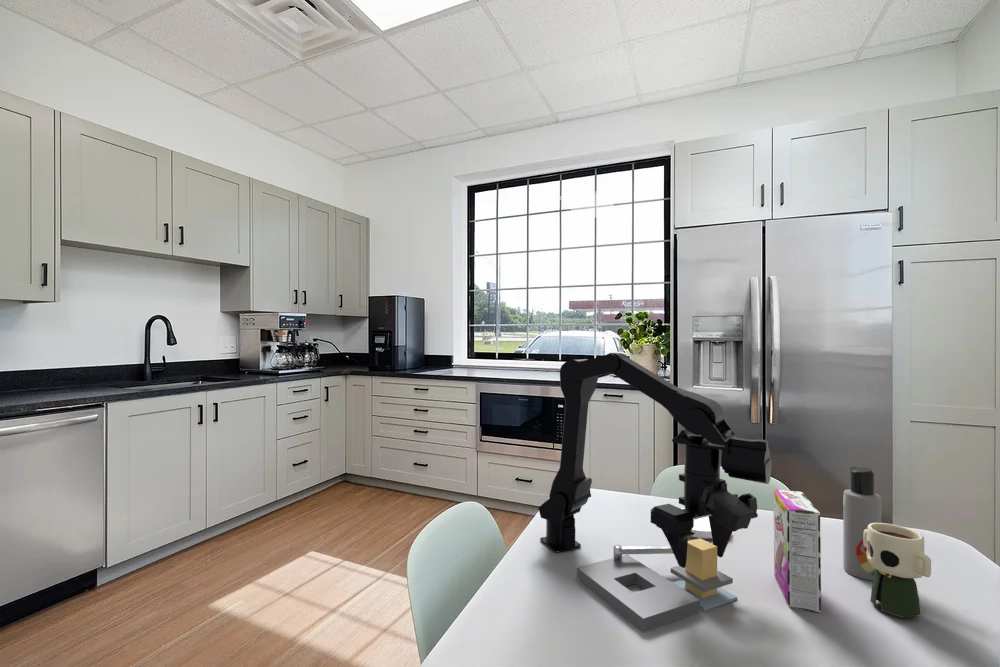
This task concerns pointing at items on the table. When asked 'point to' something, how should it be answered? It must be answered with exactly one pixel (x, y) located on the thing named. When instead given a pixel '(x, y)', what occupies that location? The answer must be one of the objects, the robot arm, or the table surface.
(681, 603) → the socket plate
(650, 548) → the metal lever bar
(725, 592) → the mat
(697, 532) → the plastic lid
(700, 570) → the plug
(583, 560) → the table surface
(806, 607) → the candy bar box
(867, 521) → the lotion bottle
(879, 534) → the character mug
